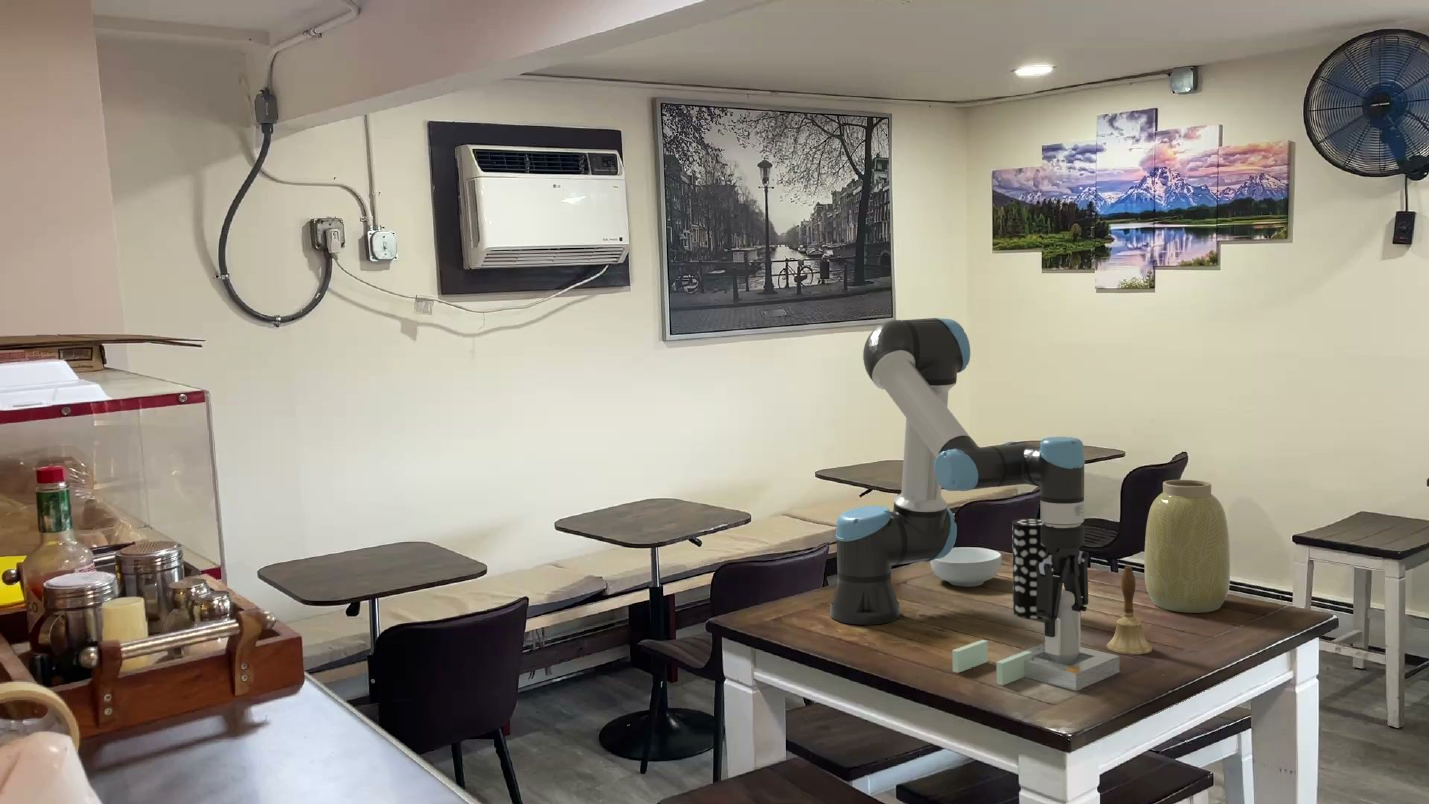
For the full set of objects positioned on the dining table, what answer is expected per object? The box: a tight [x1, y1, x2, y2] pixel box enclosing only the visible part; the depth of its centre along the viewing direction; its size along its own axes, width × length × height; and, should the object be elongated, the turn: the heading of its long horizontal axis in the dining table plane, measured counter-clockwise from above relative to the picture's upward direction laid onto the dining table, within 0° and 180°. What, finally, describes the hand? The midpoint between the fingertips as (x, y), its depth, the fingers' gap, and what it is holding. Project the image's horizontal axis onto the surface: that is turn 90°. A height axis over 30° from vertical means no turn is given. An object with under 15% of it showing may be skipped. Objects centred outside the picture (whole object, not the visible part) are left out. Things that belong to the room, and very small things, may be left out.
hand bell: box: [1106, 566, 1153, 656], centre depth 215 cm, size 8×8×16 cm
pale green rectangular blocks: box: [951, 639, 1032, 686], centre depth 204 cm, size 11×9×4 cm
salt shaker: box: [1048, 589, 1079, 666], centre depth 203 cm, size 6×6×13 cm
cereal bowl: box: [929, 546, 1002, 588], centre depth 270 cm, size 17×17×7 cm
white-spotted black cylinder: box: [1011, 518, 1054, 620], centre depth 241 cm, size 8×8×20 cm
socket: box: [1007, 642, 1120, 692], centre depth 203 cm, size 14×14×4 cm
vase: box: [1143, 479, 1231, 614], centre depth 243 cm, size 17×17×27 cm
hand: (1062, 649), depth 203 cm, fingers closed on salt shaker, 6 cm apart
